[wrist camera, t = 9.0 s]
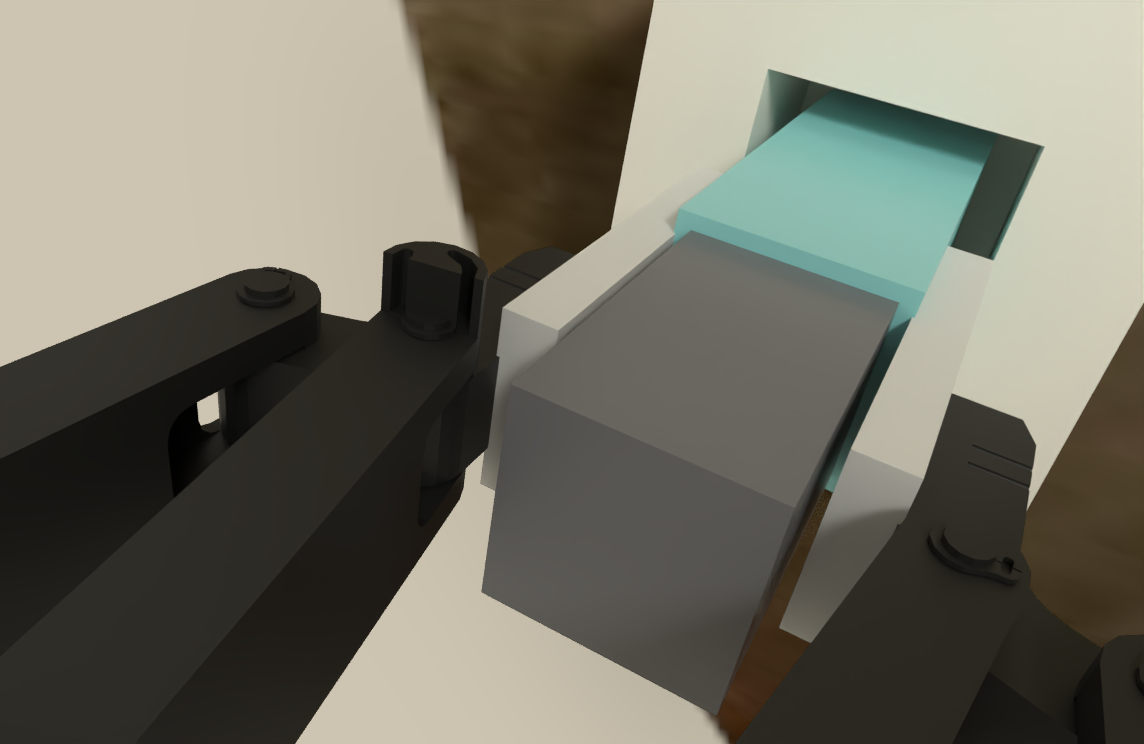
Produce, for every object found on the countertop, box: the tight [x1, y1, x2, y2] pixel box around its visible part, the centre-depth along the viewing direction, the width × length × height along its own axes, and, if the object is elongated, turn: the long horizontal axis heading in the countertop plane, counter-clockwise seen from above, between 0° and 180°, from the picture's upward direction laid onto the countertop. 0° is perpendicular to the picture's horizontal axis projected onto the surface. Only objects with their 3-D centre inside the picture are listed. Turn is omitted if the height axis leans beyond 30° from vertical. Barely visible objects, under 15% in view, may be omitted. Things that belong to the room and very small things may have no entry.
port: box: [611, 0, 1144, 509], centre depth 20 cm, size 10×10×6 cm
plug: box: [482, 88, 998, 716], centre depth 15 cm, size 4×4×14 cm
